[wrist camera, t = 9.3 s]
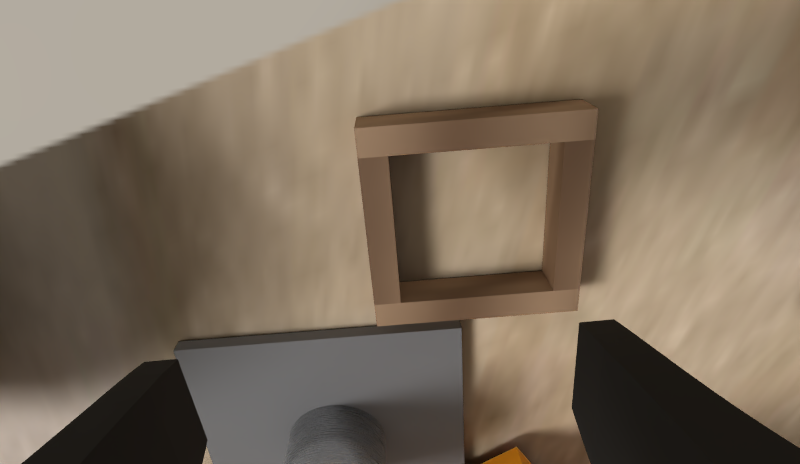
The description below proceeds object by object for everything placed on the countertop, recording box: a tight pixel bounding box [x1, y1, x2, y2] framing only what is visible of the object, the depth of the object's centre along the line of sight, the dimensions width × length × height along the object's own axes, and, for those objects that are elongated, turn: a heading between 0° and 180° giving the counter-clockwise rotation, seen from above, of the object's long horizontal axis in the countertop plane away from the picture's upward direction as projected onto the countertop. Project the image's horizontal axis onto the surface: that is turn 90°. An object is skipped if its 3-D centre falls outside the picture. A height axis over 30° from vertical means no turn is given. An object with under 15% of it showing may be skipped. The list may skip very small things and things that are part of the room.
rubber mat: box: [174, 320, 464, 464], centre depth 23 cm, size 12×12×1 cm
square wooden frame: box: [354, 99, 599, 326], centre depth 18 cm, size 8×8×2 cm
